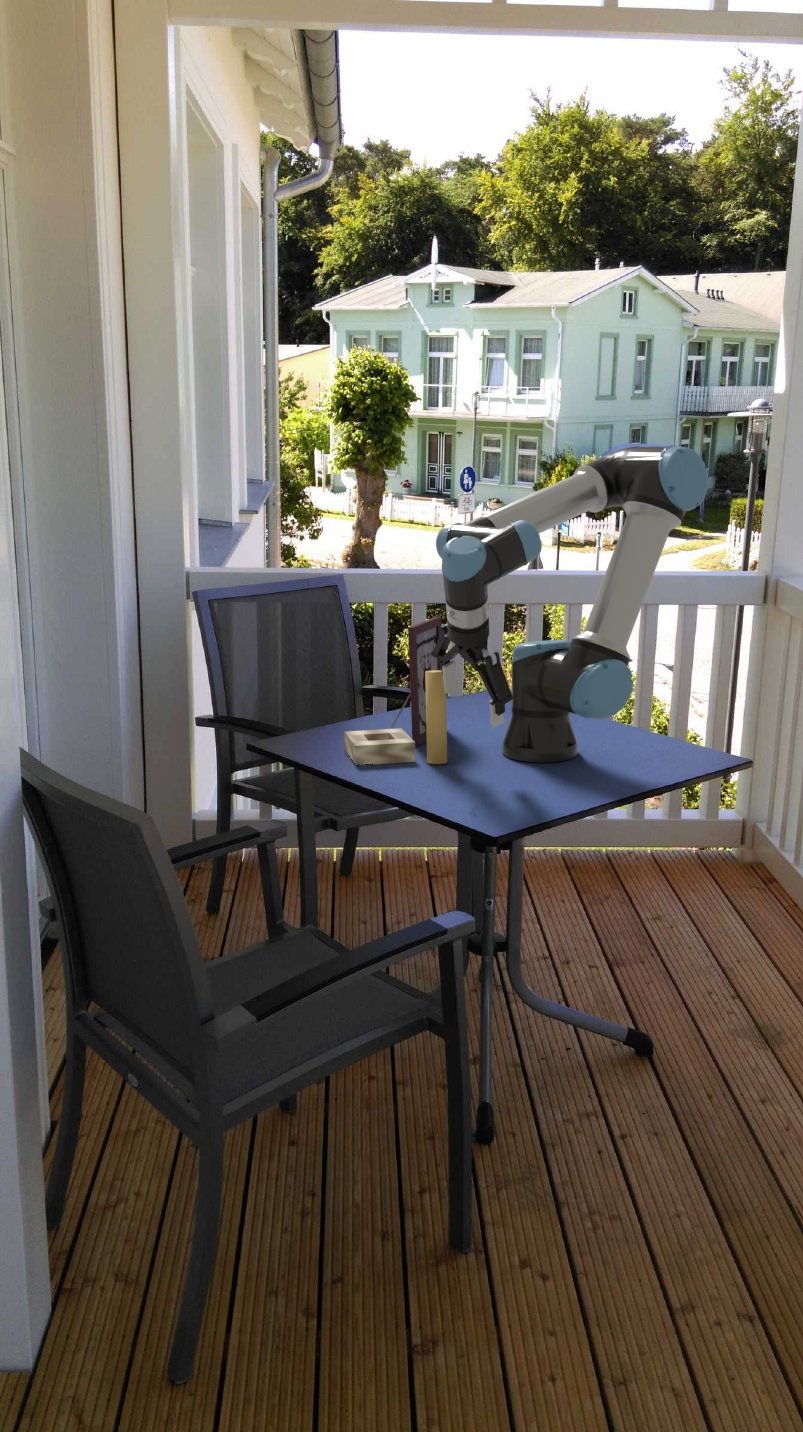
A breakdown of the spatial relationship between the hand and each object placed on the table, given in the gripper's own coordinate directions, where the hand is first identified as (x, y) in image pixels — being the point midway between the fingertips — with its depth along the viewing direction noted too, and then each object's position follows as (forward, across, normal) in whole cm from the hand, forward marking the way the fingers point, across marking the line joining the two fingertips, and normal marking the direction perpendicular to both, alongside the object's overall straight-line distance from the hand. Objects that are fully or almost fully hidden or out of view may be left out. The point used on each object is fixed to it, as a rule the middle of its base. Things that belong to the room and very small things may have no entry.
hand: (473, 706), depth 222 cm
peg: (+12, -4, -7) cm, 15 cm away
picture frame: (+23, -23, 0) cm, 32 cm away
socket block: (+14, -15, -14) cm, 24 cm away
